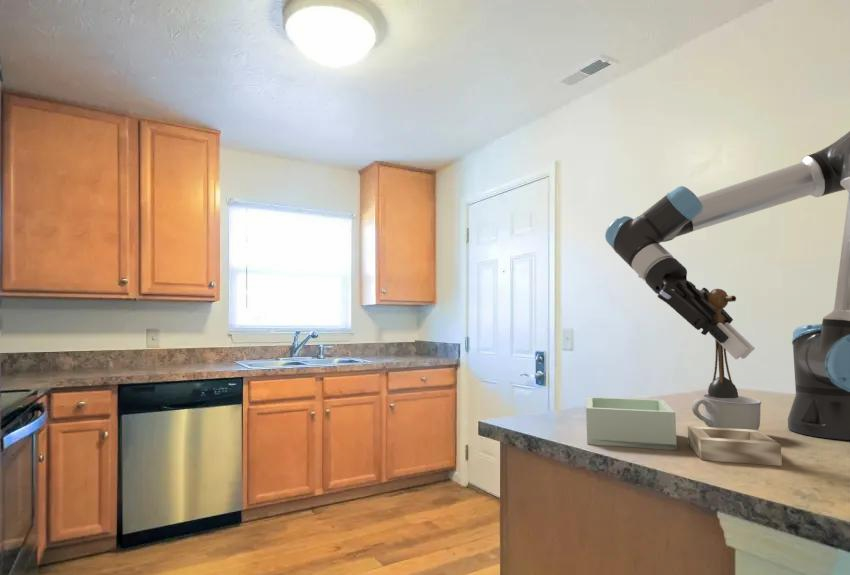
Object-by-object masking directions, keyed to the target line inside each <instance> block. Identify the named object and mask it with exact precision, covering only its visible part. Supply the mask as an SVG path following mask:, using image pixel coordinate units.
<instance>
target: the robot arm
mask: <svg viewBox="0 0 850 575" xmlns="http://www.w3.org/2000/svg"><path fill="white" fill-rule="evenodd" d="M842 191H847V192H848V195H847V203H846V211H845V212H846V214H845V220H844V227H843V228H844V229H843V234H842V235H843V236H842V245H841V249H840V250H841V252H840V260H839V267H838V275H837V282H836V288H835V298H834V306H833V310H832V311H831V312H830V313H828V314H827V315H825V316H824V317H822V323H816V324H806V325H801V326H797V327H796V328H795V329H794V330H793V331H792V340H791V345H792V349H793V368H794V384H795V385H794V386H795V395H794V399H793V401H792V405H791V406H790V407H791V408H790V410H789V413H788V417H787V429H788V430H789V431H791V432H794V433H798V434H801V435H805V436H811V437H817V438H818V437H819V438H824V439H833V440H841V441H842V440H843V441H850V130H849V131H848V132H846V134H844V135H843V136H841V137H840V138H839V139H837V140H836V141H834V142H832V143H831V144H830V145H828V146H826V147H825V148H823V149H821V150H818V151H816V152H814V153H810V154H807V155H805V156H803V157H801V160H800V161H799V163H795V164H793V165H790V166H787V167H784V168H781V169H777V170H775V171H772V172H771V171H770V172H768V173H766V174H763V175H760V176H759V175H758V176H757V177H754V178H750V179H747V180H745V181H741V182H738V183H735V184H732V185H729V186H726V187H722V188H720V189H717V190H715V191H711V192H708V193H705V194H702V195H699V196H697V195H696V194H695V193H694V192H693V191H692V190H691V189H689V188H688V187H686V186H683V185H681V186H677V187H676V188H674V189H672V191H670V192H668V193H666V195H664V196H663V197H662V198H661V199H659V200H657V202H655V203H654V204H653V205H652V206H650V207H649V208H648V209H647V210H646V211H645V210H644V212H642V213H641V214H640V215H639V216H636V217H635V218H633V217H630V216H628V215H623V216H621V217H620V218H619V217H618V218H616V219H614V220H613V221H611V222H610V224H609V225H608V226H607V228H606V231H605V235H604V237H605V241H606V242H607V244H608V245H609V246H610V247H611V248H612V249H613V250H614V252H615V253H616V254H617V255H618V256H619V257H620V258H621V259H623V261H624V262H625V263H626V264H627V265H628V266H629V267H630V268H631V269H632V270H633V271H634V272H635V273H636V274H637V275H638V278H640V279H642V280H643V281H644V282H645V284H646V285H648V287H649V288H650V289H652V292H654V293H655V294H656V295H657V298H659V299H660V300H661V301H662V302H664V303H666V304H667V305H668V306H670V307H671V308H672V309H673V310H674V311H675V312H677V313H678V315H679V316H681V317H682V318H683V319H684V320H686V322H687V323H688V324H690V325H691V327H693V328H694V329H696V330H697V331H701V329H702V331H701V332H700V333H701V334H702V335H704V336H706V335H707V334H708V333H709V334H710V335H711V337H713V338H714V339H716V340H717V341H718V342H719V343H720V344H721V345H722V346H723V347H724V348H725V349H726V352H727V353H729V354H730V355H731V357H733V358H734V359H735V360H738V359H740V358H741V359H742V360H743V359H746V358H747V357H748V356H749V355H750V354H751V353H752V352H753V351H754V350H755V346H753V345H752V344H751V343H750V342H749V340H747V339H746V338H745V337H744V336H743V335H742V334H741V333H740V332H739V331H738V330H737V329H735V328H734V326H732V325H731V323H732V322H733V320H734V319H733V318H732V316H730V314H729V313H728V312H727V311H726V310H725V309H724V308H722V309H721V315H724V325H723V324H722V322H721V323H718V324H717V325H716V323H717V322H716V321H715V320H714V315H716V309H714V308H712V307H711V306H710V305H709V303H708V295H709V293H710V291H709V289H708V288H706V287H702V288H701V289H699V288H697V287H696V285H695V284H694V283H693V282H691V281H689V280H688V279H687V275H688V270H687V267H685V266H684V265H683V264H682V263H681V262H680V261H678V259H676V258H674V256H673V255H672V254H671V253H670V251H668V250H667V249H666V248H665V247H663V246H662V245H661V244H660V243H666V242H670V241H672V240H674V239H675V238H678V237H680V236H682V235H686V234H689V233H692V232H695V231H699V230H701V229H705V228H708V227H711V226H715V225H718V224H721V223H724V222H727V221H730V220H734V219H737V218H739V217H740V218H741V217H744V216H747V215H750V214H753V213H756V212H760V211H762V210H765V209H770V208H772V207H775V206H778V205H782V204H785V203H789V202H792V201H796V200H799V199H801V198H802V199H803V198H806V197H807V196H812V197H814V198H820V197H824V196H827V195H830V194H834V193H837V192H842Z"/></svg>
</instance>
